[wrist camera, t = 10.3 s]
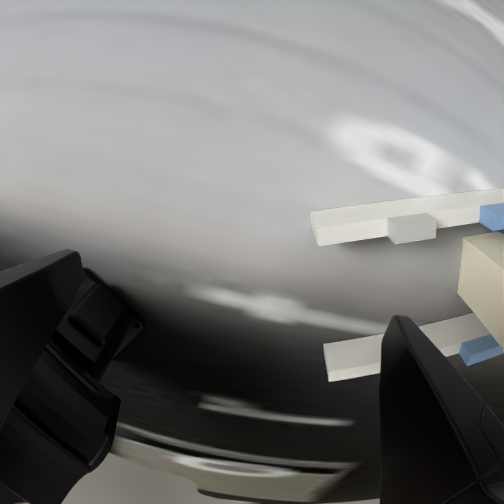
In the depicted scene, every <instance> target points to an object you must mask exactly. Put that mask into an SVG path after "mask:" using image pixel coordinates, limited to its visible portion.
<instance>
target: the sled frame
mask: <svg viewBox="0 0 504 504" xmlns="http://www.w3.org/2000/svg"><path fill="white" fill-rule="evenodd" d="M310 217H311V225H312V229H313V232H314V235H315V238H316V241H317V244H318V246H324V245H330V244H337V243H344V242H351V241H358V240H364V239H371V238H378V237H385V236H388V237H389V238H390V239H391V241H392V242H393V243H394V244H401V243H408V242H414V241H421V240H427V239H433V238H436V229H438V228H445V227H451V226H458V225H465V224H471V223H478V222H480V223H481V224H483V225H484V226H486V227H487V228H489V229H491V230H492V231H496V230H502V229H504V188H503V189H492V190H482V191H472V192H462V193H453V194H444V195H435V196H426V197H418V198H409V199H401V200H393V201H385V202H377V203H369V204H362V205H354V206H347V207H339V208H332V209H325V210H318V211H311V212H310ZM418 327H419V328H420V329H421V330H422V331H423V333H424V334H425V335H426V336H427V337H428V338H429V339H430V340H431V341H432V342H433V343H434V345H435V346H436V347H437V348H438V349H439V350H440V351H441V352H442V353H443V355H444V356H445V357H447V356H451V355H454V354H458V353H459V354H460V356H461V357H462V359H463V361H464V362H465V364H466V365H467V366H469V365H472V364H475V363H478V362H481V361H484V360H487V359H490V358H492V357H495V356H498V355H501V354H503V353H504V350H503V349H502V348H501V346H500V345H499V344H498V342H497V341H496V340H495V338H494V337H493V336H492V335H491V333H490V332H489V331H488V329H487V328H486V327H485V326H484V324H483V323H482V322H481V321H480V320H479V318H478V317H477V316H476V315H475V313H470V314H466V315H463V316H459V317H455V318H451V319H447V320H443V321H439V322H435V323H431V324H426V325H422V326H418ZM384 334H385V333H384ZM384 334H379V335H373V336H368V337H363V338H357V339H351V340H345V341H339V342H333V343H326V344H323V345H324V356H325V362H326V367H327V373H328V379H329V382H331V381H338V380H344V379H350V378H355V377H361V376H366V375H371V374H376V373H380V366H381V343H382V339H383V336H384Z"/></svg>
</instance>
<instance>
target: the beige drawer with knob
mask: <svg viewBox="0 0 504 504" xmlns="http://www.w3.org/2000/svg"><path fill="white" fill-rule="evenodd" d="M457 293H458V295H459V296H460V297H461V298H462V299H463V300H464V302H465V303H466V304H467V305H468V306H469V307H470V309H471V310H472V311H473V312H474V313H475V315H476V316H477V317H478V318H479V320H480V321H481V322H482V323H483V324H484V326H485V327H486V328H487V329H488V331H489V332H490V333H491V335H492V336H493V337H494V338H495V340H496V341H497V342H498V344H499V345H500V346H501V348H502V349H503V350H504V235H503V234H502V233H500V232H499V231H497V232H491V233H485V234H479V235H473V236H468V237H463V243H462V255H461V266H460V275H459V283H458V291H457Z"/></svg>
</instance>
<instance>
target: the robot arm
mask: <svg viewBox="0 0 504 504" xmlns="http://www.w3.org/2000/svg"><path fill="white" fill-rule="evenodd" d="M136 323H138V324H139V325H137V324H136ZM144 325H145V323H144V321H143V320H142V319H141V318H140V317H139V316H138V315H137V314H135V313H134V312H133V311H132V310H131V309H130V308H128V307H127V306H126V305H125V304H124V303H123V302H121V301H120V300H119V299H118V298H117V297H116V296H115V295H113V294H112V293H111V292H110V291H109V290H108V289H107V288H106V287H105V286H103V285H102V284H101V283H100V282H99V281H98V280H97V279H96V278H95V277H94V276H93V275H91V274H90V273H89V272H88V271H87V270H86V269H85V268H83V267H82V262H81V257H80V254H79V252H77V251H74V250H70V249H66V250H63V251H59V252H56V253H53V254H50V255H47V256H44V257H41V258H38V259H35V260H32V261H29V262H26V263H24V264H21V265H18V266H15V267H12V268H9V269H6V270H4V271H1V272H0V504H23V503H29V504H61V503H62V501H63V500H64V498H65V497H66V496H67V494H68V493H69V491H70V490H71V489H72V487H73V486H74V485H75V484H76V483H77V482H78V481H79V480H80V479H81V478H82V477H83V476H84V475H85V474H87V473H90V472H92V471H93V470H95V469H96V468H97V467H98V466H99V465H100V463H102V461H103V460H104V459H105V457H106V456H107V454H108V452H109V450H110V448H111V446H112V443H113V440H114V434H115V429H116V423H117V418H118V413H119V408H120V403H121V399H120V398H118V397H117V396H116V395H113V394H112V393H111V392H109V391H108V390H107V389H106V388H105V387H104V386H102V385H101V384H100V383H99V382H100V380H101V378H102V376H103V374H104V373H105V371H106V369H107V367H108V366H109V364H110V362H111V360H112V359H113V358H114V357H115V356H116V355H117V354H118V353H119V352H120V351H121V350H122V349H123V348H124V347H125V346H126V345H127V344H128V343H129V342H130V341H131V340H132V339H133V338H134V337H135V336H136V335H137V334H138V333H139V332H140V331H141V330H142V329H143V327H144ZM379 404H380V431H381V483H380V504H504V425H503V424H502V423H501V422H500V420H499V419H498V418H497V417H496V416H495V415H494V413H493V412H492V411H491V410H490V408H489V407H488V406H487V405H486V404H485V403H484V404H483V400H482V399H481V398H480V396H479V395H478V394H477V393H476V392H475V390H474V389H473V388H472V387H471V386H470V384H469V383H468V382H467V381H466V380H465V379H464V377H463V376H462V375H461V374H460V373H459V372H458V371H457V369H456V368H455V367H454V366H453V365H452V364H451V363H450V361H449V360H448V359H447V358H446V357H445V356H444V355H443V353H442V352H441V351H440V350H439V349H438V348H437V347H436V346H435V345H434V343H433V342H432V341H431V340H430V339H429V338H428V337H427V336H426V335H425V334H424V333H423V331H422V330H421V329H420V328H419V327H418V326H417V325H416V324H415V323H414V322H413V321H412V320H411V319H410V318H409V317H408V316H402V315H394V316H393V317H392V319H391V321H390V323H389V325H388V327H387V330H386V332H385V334H384V336H383V339H382V343H381V366H380V386H379Z"/></svg>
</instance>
